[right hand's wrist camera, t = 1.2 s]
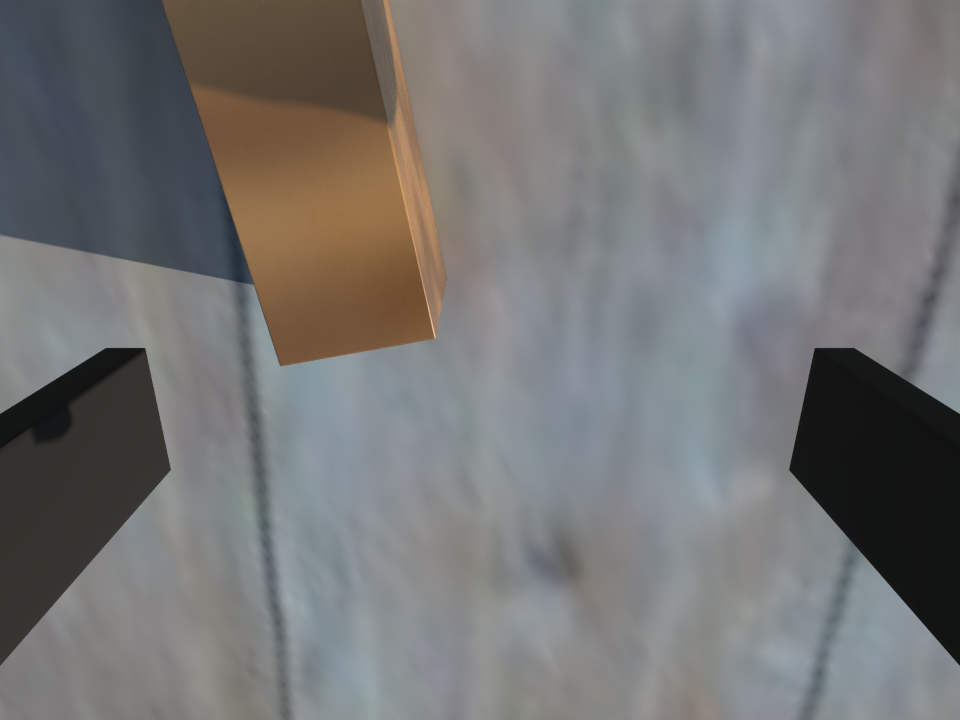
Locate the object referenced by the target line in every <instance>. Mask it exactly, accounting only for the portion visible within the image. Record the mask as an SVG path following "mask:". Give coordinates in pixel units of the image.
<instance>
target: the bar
mask: <svg viewBox="0 0 960 720" xmlns="http://www.w3.org/2000/svg"><path fill="white" fill-rule="evenodd" d="M162 3H163V6H164V9H165V12H166V15H167V19H168V22H169V25H170V28H171V31H172V34H173V37H174V40H175V43H176V46H177V49H178V52H179V56H180V59H181V62H182V65H183V68H184V71H185V74H186V77H187V80H188V83H189V86H190V89H191V93H192V96H193V99H194V102H195V105H196V108H197V111H198V114H199V117H200V120H201V123H202V126H203V130H204V133H205V136H206V139H207V142H208V145H209V148H210V151H211V154H212V157H213V160H214V163H215V166H216V170H217V173H218V176H219V179H220V182H221V185H222V188H223V191H224V194H225V197H226V200H227V203H228V207H229V210H230V213H231V216H232V219H233V222H234V225H235V228H236V231H237V234H238V237H239V240H240V244H241V247H242V250H243V253H244V256H245V259H246V262H247V265H248V268H249V271H250V274H251V277H252V281H253V284H254V287H255V290H256V293H257V296H258V299H259V302H260V305H261V308H262V311H263V314H264V318H265V321H266V324H267V327H268V330H269V333H270V336H271V339H272V342H273V345H274V348H275V351H276V354H277V358H278V361H279V364H280V366H285V365H290V364H296V363H302V362H307V361H313V360H319V359H324V358H330V357H335V356H341V355H347V354H352V353H358V352H363V351H369V350H375V349H380V348H386V347H391V346H397V345H403V344H408V343H414V342H420V341H425V340H431V339H435V338H436V333H437V328H438V323H439V317H440V312H441V306H442V301H443V296H444V290H445V285H446V280H447V279H446V274H445V269H444V264H443V259H442V255H441V250H440V245H439V240H438V236H437V231H436V226H435V221H434V216H433V212H432V207H431V202H430V197H429V193H428V188H427V183H426V178H425V173H424V169H423V164H422V159H421V154H420V150H419V145H418V140H417V135H416V130H415V126H414V121H413V116H412V111H411V107H410V102H409V97H408V92H407V87H406V83H405V78H404V73H403V68H402V64H401V59H400V54H399V49H398V44H397V40H396V35H395V30H394V25H393V20H392V16H391V11H390V6H389V1H388V0H162Z"/></svg>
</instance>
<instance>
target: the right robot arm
mask: <svg viewBox="0 0 960 720" xmlns="http://www.w3.org/2000/svg"><path fill="white" fill-rule="evenodd" d="M170 470H171V468H170V464H169V459H168V454H167V449H166V445H165V440H164V435H163V430H162V426H161V421H160V416H159V411H158V407H157V402H156V397H155V392H154V388H153V383H152V378H151V373H150V369H149V364H148V359H147V354H146V350H145V348H105V349H104V350H102V351H101V352H99V353H97V354H96V355H94V356H93V357H91V358H89V359H88V360H86V361H85V362H83V363H81V364H80V365H78V366H77V367H75V368H73V369H72V370H70V371H68V372H67V373H65V374H64V375H62V376H60V377H59V378H57V379H56V380H54V381H52V382H51V383H49V384H48V385H46V386H44V387H43V388H41V389H40V390H38V391H36V392H35V393H33V394H32V395H30V396H28V397H27V398H25V399H24V400H22V401H20V402H19V403H17V404H16V405H14V406H12V407H11V408H9V409H7V410H6V411H4V412H3V413H1V414H0V665H1V664H2V663H3V662H4V661H5V659H6V658H7V657H8V656H9V655H10V654H11V653H12V651H13V650H14V649H15V648H16V647H17V646H18V645H19V643H20V642H21V641H22V640H23V639H24V638H25V637H26V635H27V634H28V633H29V632H30V631H31V630H32V629H33V627H34V626H35V625H36V624H37V623H38V622H39V620H40V619H41V618H42V617H43V616H44V615H45V614H46V612H47V611H48V610H49V609H50V608H51V607H52V606H53V604H54V603H55V602H56V601H57V600H58V599H59V598H60V596H61V595H62V594H63V593H64V592H65V591H66V590H67V588H68V587H69V586H70V585H71V584H72V583H73V581H74V580H75V579H76V578H77V577H78V576H79V575H80V573H81V572H82V571H83V570H84V569H85V568H86V567H87V565H88V564H89V563H90V562H91V561H92V560H93V559H94V557H95V556H96V555H97V554H98V553H99V552H100V551H101V549H102V548H103V547H104V546H105V545H106V544H107V542H108V541H109V540H110V539H111V538H112V537H113V536H114V534H115V533H116V532H117V531H118V530H119V529H120V528H121V526H122V525H123V524H124V523H125V522H126V521H127V520H128V518H129V517H130V516H131V515H132V514H133V513H134V512H135V510H136V509H137V508H138V507H139V506H140V505H141V503H142V502H143V501H144V500H145V499H146V498H147V497H148V495H149V494H150V493H151V492H152V491H153V490H154V489H155V487H156V486H157V485H158V484H159V483H160V482H161V481H162V479H163V478H164V477H165V476H166V475H167V474H168V472H169V471H170ZM789 470H790V471H791V472H792V474H793V475H794V476H795V477H796V478H797V479H798V481H799V482H800V483H801V484H802V485H803V486H804V487H805V489H806V490H807V491H808V492H809V493H810V494H811V495H812V497H813V498H814V499H815V500H816V501H817V502H818V503H819V505H820V506H821V507H822V508H823V509H824V510H825V512H826V513H827V514H828V515H829V516H830V517H831V518H832V520H833V521H834V522H835V523H836V524H837V525H838V526H839V528H840V529H841V530H842V531H843V532H844V533H845V534H846V536H847V537H848V538H849V539H850V540H851V541H852V542H853V544H854V545H855V546H856V547H857V548H858V549H859V551H860V552H861V553H862V554H863V555H864V556H865V557H866V559H867V560H868V561H869V562H870V563H871V564H872V565H873V567H874V568H875V569H876V570H877V571H878V572H879V573H880V575H881V576H882V577H883V578H884V579H885V580H886V581H887V583H888V584H889V585H890V586H891V587H892V588H893V590H894V591H895V592H896V593H897V594H898V595H899V596H900V598H901V599H902V600H903V601H904V602H905V603H906V604H907V606H908V607H909V608H910V609H911V610H912V611H913V612H914V614H915V615H916V616H917V617H918V618H919V619H920V620H921V622H922V623H923V624H924V625H925V626H926V627H927V629H928V630H929V631H930V632H931V633H932V634H933V635H934V637H935V638H936V639H937V640H938V641H939V642H940V643H941V645H942V646H943V647H944V648H945V649H946V650H947V651H948V653H949V654H950V655H951V656H952V657H953V658H954V659H955V661H956V662H957V663H958V664H959V665H960V414H959V413H957V412H956V411H954V410H952V409H951V408H949V407H948V406H946V405H944V404H943V403H941V402H940V401H938V400H936V399H935V398H933V397H932V396H930V395H928V394H927V393H925V392H924V391H922V390H920V389H919V388H917V387H916V386H914V385H912V384H911V383H909V382H908V381H906V380H904V379H903V378H901V377H900V376H898V375H896V374H895V373H893V372H892V371H890V370H888V369H887V368H885V367H883V366H882V365H880V364H879V363H877V362H875V361H874V360H872V359H871V358H869V357H867V356H866V355H864V354H863V353H861V352H859V351H858V350H856V349H855V348H815V350H814V354H813V359H812V364H811V369H810V373H809V378H808V383H807V388H806V392H805V397H804V402H803V407H802V411H801V416H800V421H799V426H798V430H797V435H796V440H795V445H794V449H793V454H792V459H791V464H790V468H789Z"/></svg>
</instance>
